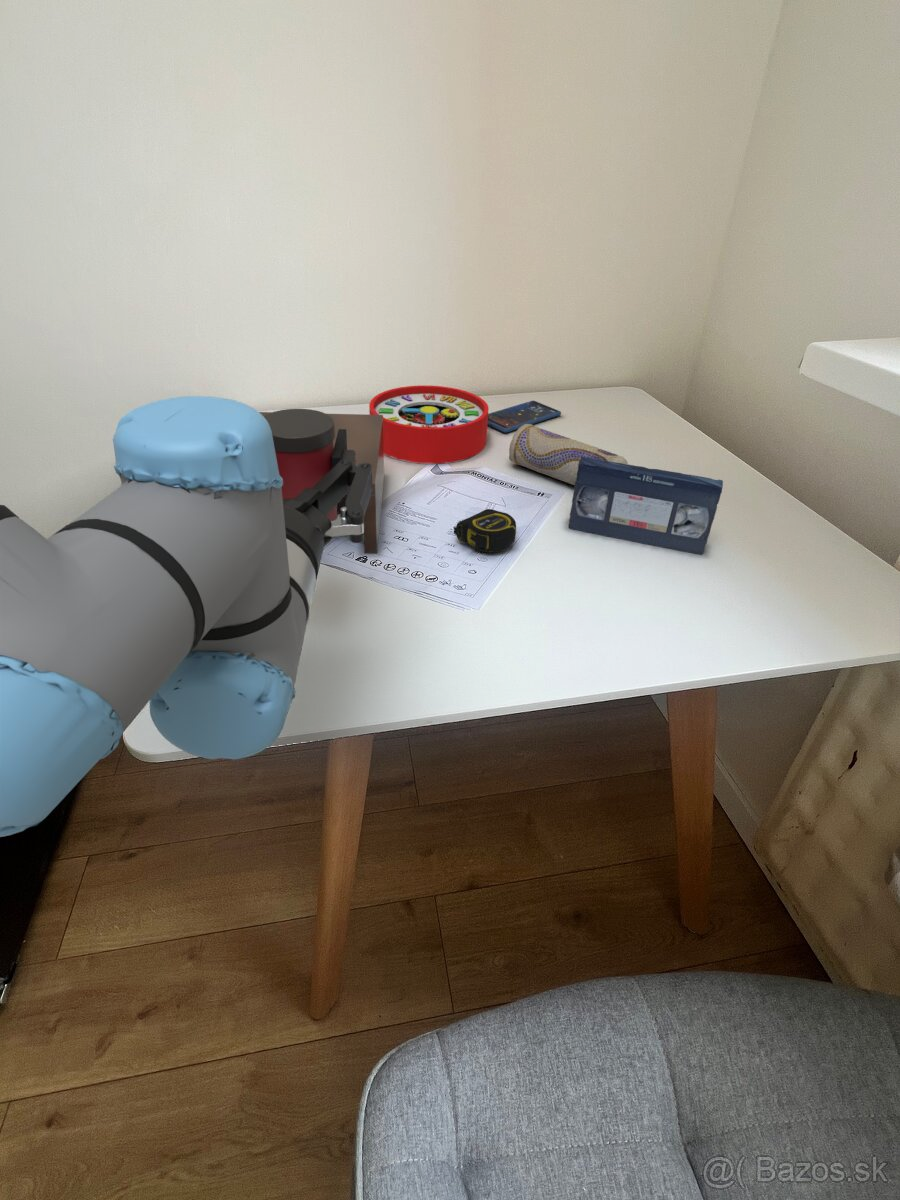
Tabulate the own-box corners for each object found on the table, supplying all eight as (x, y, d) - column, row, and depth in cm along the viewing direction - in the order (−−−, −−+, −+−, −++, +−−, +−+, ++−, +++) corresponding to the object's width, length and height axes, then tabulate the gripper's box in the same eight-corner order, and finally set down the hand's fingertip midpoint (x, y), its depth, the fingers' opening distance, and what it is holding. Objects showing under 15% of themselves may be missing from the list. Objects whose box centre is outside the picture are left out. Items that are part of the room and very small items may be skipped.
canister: (263, 536, 66) (250, 436, 60) (275, 502, 71) (264, 407, 65) (336, 538, 66) (330, 438, 60) (342, 503, 71) (337, 409, 66)
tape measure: (488, 526, 97) (490, 502, 94) (525, 546, 93) (528, 521, 90) (452, 542, 93) (453, 517, 90) (489, 564, 89) (491, 538, 87)
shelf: (235, 551, 89) (223, 480, 83) (266, 474, 107) (257, 411, 101) (377, 553, 90) (375, 483, 84) (384, 477, 108) (382, 414, 102)
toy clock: (484, 387, 125) (493, 430, 109) (482, 418, 128) (490, 465, 112) (372, 383, 124) (364, 427, 108) (373, 415, 128) (366, 462, 111)
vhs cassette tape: (566, 528, 97) (577, 462, 91) (571, 519, 99) (581, 453, 93) (703, 557, 92) (723, 489, 86) (704, 546, 94) (724, 479, 88)
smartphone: (476, 416, 126) (533, 399, 135) (476, 420, 127) (532, 403, 135) (505, 430, 122) (562, 411, 130) (505, 434, 122) (562, 415, 131)
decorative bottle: (503, 469, 111) (507, 429, 107) (530, 455, 116) (534, 417, 112) (650, 525, 98) (661, 482, 94) (673, 507, 103) (684, 465, 99)
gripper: (398, 529, 49) (405, 407, 67) (115, 522, 48) (201, 400, 66) (398, 613, 53) (404, 477, 72) (139, 609, 52) (213, 472, 71)
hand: (306, 441), depth 69 cm, fingers closed on canister, 6 cm apart
